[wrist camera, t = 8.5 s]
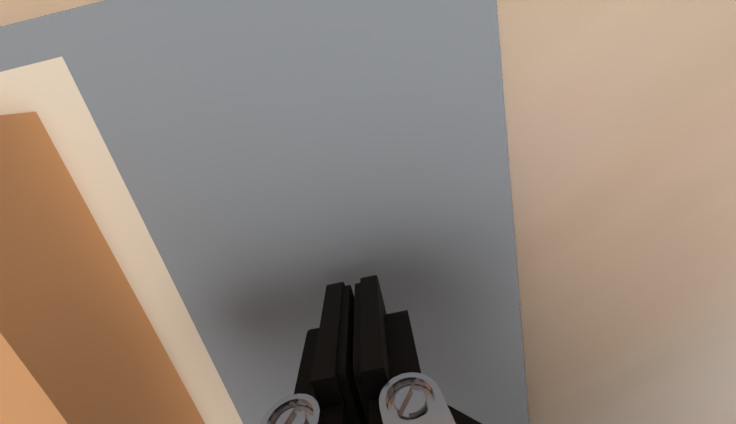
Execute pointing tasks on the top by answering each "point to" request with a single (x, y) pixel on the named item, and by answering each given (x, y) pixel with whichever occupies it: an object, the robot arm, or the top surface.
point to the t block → (70, 304)
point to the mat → (290, 179)
